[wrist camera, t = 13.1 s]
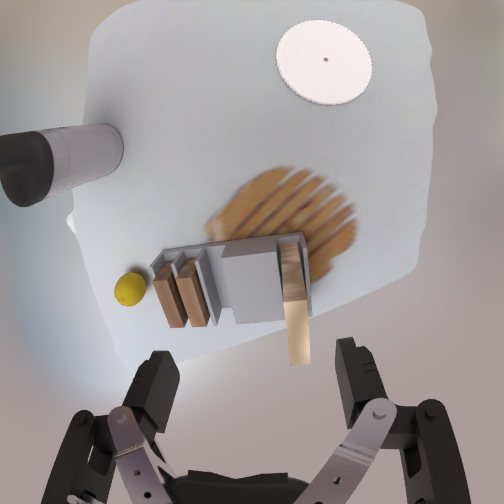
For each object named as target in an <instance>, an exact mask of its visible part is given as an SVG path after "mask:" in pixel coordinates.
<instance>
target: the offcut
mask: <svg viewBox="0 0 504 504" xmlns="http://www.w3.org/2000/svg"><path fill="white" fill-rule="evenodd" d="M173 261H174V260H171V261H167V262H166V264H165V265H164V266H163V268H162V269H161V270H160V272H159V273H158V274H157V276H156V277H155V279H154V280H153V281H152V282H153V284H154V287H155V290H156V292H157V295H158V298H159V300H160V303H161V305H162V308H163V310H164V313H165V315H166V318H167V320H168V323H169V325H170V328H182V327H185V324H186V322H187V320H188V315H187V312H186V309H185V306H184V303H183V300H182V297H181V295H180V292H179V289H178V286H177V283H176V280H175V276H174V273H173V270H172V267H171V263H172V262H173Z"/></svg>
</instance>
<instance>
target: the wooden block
mask: <svg viewBox="0 0 504 504" xmlns="http://www.w3.org/2000/svg"><path fill="white" fill-rule="evenodd" d="M280 244H281V262H282V282H283V303H284V312H285V320H286V329H287V337H288V346H289V355H290V365H301V364H310V345H309V323H308V306H307V296H306V290H305V285H304V279H303V274H302V268H301V263H300V258H299V252H298V247H297V242H288V243H280Z"/></svg>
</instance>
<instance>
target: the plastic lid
mask: <svg viewBox="0 0 504 504" xmlns="http://www.w3.org/2000/svg"><path fill="white" fill-rule="evenodd" d="M361 41H362V40H361V39H359V37H358V36H356V34H353V33H352V31H349V29H346V28H345V27H342V25H338V24H337V23H334V22H329V21H325V20H323V21H321V20H319V21H317V20H315V21H313V20H311V21H307V22H303V23H299V25H295V27H294V26H293V27H292V29H291V28H290V29H289V31H287V32H286V34H284V36H282V39H280V43H279V44H278V47H277V53H276V62H277V68H278V69H279V70H278V71H279V73H280V76H282V80H284V83H286V84H287V86H289V87H290V89H292V90H293V92H296V94H297V95H299V96H300V97H303V99H307V101H311V102H312V103H313V102H315V103H316V104H317V103H319V104H320V105H321V104H324V105H327V104H328V105H331V104H332V105H335V104H336V105H338V104H342V103H346V102H348V101H351V100H353V99H355V98H356V97H358V95H360V94H361V93H362V92H364V91H363V90H365V89H366V87H367V86H368V85H367V84H369V81H370V80H371V78H370V77H371V76H372V75H371V73H372V71H371V70H372V67H371V66H372V64H371V62H372V61H371V60H370V59H371V57H370V56H369V55H370V54H369V53H368V50H367V49H366V46H364V43H362V42H361Z"/></svg>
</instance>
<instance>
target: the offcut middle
mask: <svg viewBox="0 0 504 504" xmlns="http://www.w3.org/2000/svg"><path fill="white" fill-rule="evenodd" d="M196 258H197V257H194V258H188V260H187V261H186V263H185V264H184V266H183V267H182V269H181V271H180V272H179V274H178V276H177V277H176V279H175V280H176V283H177V286H178V289H179V292H180V295H181V297H182V300H183V303H184V306H185V309H186V312H187V315H188V317H189V320H190V323H191V325H192V327H205V326H207V324H208V321H209V318H210V312H209V309H208V306H207V303H206V299H205V296H204V293H203V289H202V286H201V282H200V279H199V276H198V272H197V269H196V265H195V260H196Z"/></svg>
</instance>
